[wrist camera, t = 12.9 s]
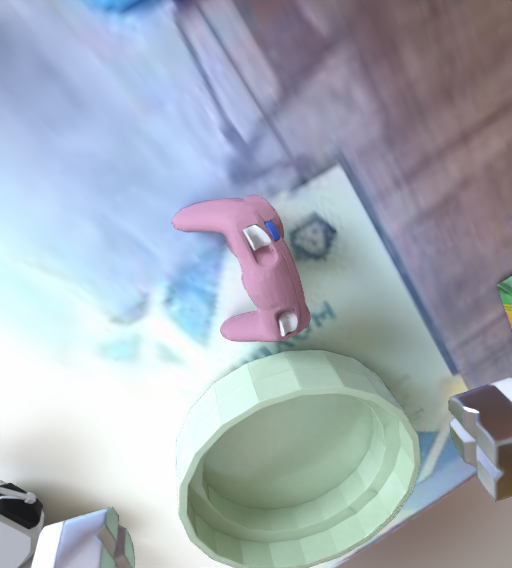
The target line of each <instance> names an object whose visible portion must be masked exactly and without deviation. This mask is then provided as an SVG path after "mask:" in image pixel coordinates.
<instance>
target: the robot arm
mask: <svg viewBox="0 0 512 568" xmlns="http://www.w3.org/2000/svg"><path fill="white" fill-rule="evenodd" d="M448 404H449V411H450V412H451V413H452V414H453V416H454V417H453V418H452V420H451V422H450V423H449V425H450V434H451V437H452V440H453V443H454V445H455V447H456V449H457V451H458V453H459V454H460V456H461V457H462V458H463V460H464V461H465V462H466V463H468V464H470V465H472V466H474V467H477V478H478V480H479V481H480V482H481V484H482V485H483V486H484V487H485V489H486V490H487V492H488V493H489V494H490V495H491V497H492V498H493V499H494V500H495V502H496V501H499V500H502V499H506V498H509V497H512V378H507V379H504V380H501V381H498V382H495V383H492V384H490V385H485V386H482V387H479V388H476V389H473V390H470V391H467V392H464V393H461V394H458V395H455V396H452V397H450V399H449V401H448ZM118 520H119V515H118V514H117V512H116V511H115V509H114V508H113V507H108V508H105V509H101V510H98V511H94V512H91V513H88V514H84V515H81V516H77V517H74V518H70V519H67V520H65V521H61V522H58V523H55V524H51V525H48V526H45V527H44V528H43V530H42V531H41V533H40V535H39V539H38V543H37V547H36V551H35V555H34V559H33V563H32V567H31V568H135V557H134V549H133V543H132V540H131V537H130V535H129V533H128V531H127V529H126V528H124V527H121V526H119V525H118Z"/></svg>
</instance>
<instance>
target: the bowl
mask: <svg viewBox="0 0 512 568" xmlns="http://www.w3.org/2000/svg"><path fill="white" fill-rule="evenodd" d="M420 466H421V456H420V444H419V436H418V434H417V432H416V431H415V429H414V427H413V426H412V424H411V422H410V420H409V419H408V417H407V415H406V414H405V412H404V411H403V409H402V408H401V407H400V405H399V404H398V402H397V401H396V400H395V398H394V397H393V395H392V394H391V393H390V391H389V390H388V388H387V387H386V386H385V384H384V383H383V381H382V380H381V379H380V377H379V376H378V375H377V374H375V373H374V372H373V371H371V370H370V369H368V368H367V367H366V366H364V365H363V364H361V363H360V362H359V361H357V360H356V359H354V358H351V357H347V356H344V355H340V354H336V353H333V352H329V351H325V350H298V351H283V352H280V353H277V354H273V355H270V356H267V357H264V358H260V359H257V360H254V361H251V362H248V363H246V364H244V365H242V366H241V367H239V368H238V369H236V370H234V371H233V372H231V373H229V374H228V375H226V376H225V377H223V378H221V379H220V380H218V381H217V382H215V383H214V384H213V385H212V386H211V387H210V388H209V389H208V390H207V391H206V392H205V394H204V395H203V396H202V397H201V398H200V399H199V400H198V401H197V402H196V403H195V405H194V406H193V407H192V408H191V409H190V410H189V412H188V415H187V417H186V419H185V421H184V424H183V426H182V428H181V430H180V433H179V435H178V437H177V443H176V478H177V496H178V515H179V517H180V520H181V522H182V524H183V526H184V528H185V530H186V533H187V535H188V537H189V539H190V541H191V542H192V543H193V544H195V545H196V546H197V547H198V548H199V549H200V550H202V551H203V552H204V553H205V554H206V555H207V556H209V557H210V558H211V559H213V560H215V561H218V562H221V563H223V564H226V565H229V566H231V567H234V568H309V567H312V566H315V565H318V564H321V563H324V562H327V561H330V560H333V559H335V558H338V557H341V556H343V555H344V554H346V553H348V552H349V551H351V550H353V549H355V548H356V547H358V546H360V545H362V544H363V543H365V542H367V541H369V540H370V539H371V538H372V537H373V536H375V535H376V534H377V533H378V532H379V531H380V530H381V529H382V528H383V527H385V526H386V525H387V524H388V523H389V522H390V521H391V520H392V519H394V518H395V517H396V515H397V514H398V512H399V511H400V509H401V508H402V506H403V505H404V504H405V502H406V501H407V499H408V498H409V496H410V495H411V493H412V491H413V489H414V486H415V482H416V479H417V476H418V473H419V470H420Z"/></svg>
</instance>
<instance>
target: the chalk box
mask: <svg viewBox="0 0 512 568" xmlns="http://www.w3.org/2000/svg"><path fill="white" fill-rule="evenodd" d="M497 287H498V290H499V293H500V296H501V300H502V302H503V305H504V309H505V311H506V314H507V317H508V320H509V324H510V327H511V330H512V276H510V277H509V278H507V279H505V280H504V281H502V282H500V283H499V284H498V285H497Z"/></svg>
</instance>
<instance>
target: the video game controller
mask: <svg viewBox="0 0 512 568" xmlns="http://www.w3.org/2000/svg"><path fill="white" fill-rule="evenodd" d="M172 224H173V226H174V227H175V228H176V229H178V230H180V231H184V232H215V233H221V234H224V235H225V239H226V242H227V244H228V247H229V248H230V250H231V251H232V253H233V254H234V255H235V256H236V257H237V258H238V260H239V262H240V265H241V268H242V282H243V285H244V287H245V289H246V291H247V293H248V295H249V297H250V298H251V300H252V301H253V302H254V304H255V305H256V306H257V309H258V310H257V311H254V312H248V313H243V314H240V315H237V316H234V317H231V318H230V319H228V320H226V321H225V322H224V323H223V324H222V326H221V327H220V332H221V334H222V335H223V337H225V338H226V339H228V340H231V341H239V342H254V341H263V342H278V341H282V340H286V339H288V338H290V337H293V336H295V335H297V334H298V333H300V332H301V331H302V330H304V329H305V328H306V327H307V326H308V325H309V323H310V320H311V319H310V312H309V310H308V308H307V306H306V303H305V297H304V292H303V288H302V285H301V281H300V277H299V274H298V272H297V269H296V266H295V264H294V261H293V259H292V256H291V254H290V252H289V249H288V247H287V245H286V243H285V242H284V240H283V238H284V230H283V225H282V223H281V220H280V218H279V216H278V214H277V213H276V211H275V209H274V208H273V207H272V206H271V205H270V204H269V203H268V202H267V201H266V200H265V199H263V198H262V197H260V196H257V195H250V196H248V197H246V198H244V199H240V198H229V199H217V200H209V201H204V202H200V203H196V204H193V205H190V206H188V207H185V208H183V209H181V210H180V211H179V212H178V213H177V214H176V215H175V216H174V218H173V219H172Z"/></svg>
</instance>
